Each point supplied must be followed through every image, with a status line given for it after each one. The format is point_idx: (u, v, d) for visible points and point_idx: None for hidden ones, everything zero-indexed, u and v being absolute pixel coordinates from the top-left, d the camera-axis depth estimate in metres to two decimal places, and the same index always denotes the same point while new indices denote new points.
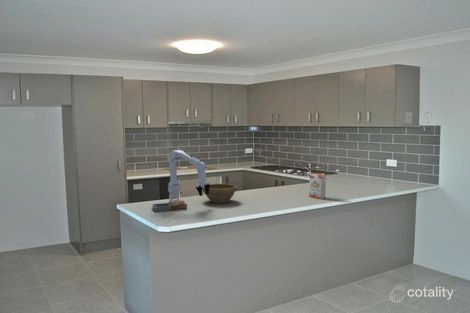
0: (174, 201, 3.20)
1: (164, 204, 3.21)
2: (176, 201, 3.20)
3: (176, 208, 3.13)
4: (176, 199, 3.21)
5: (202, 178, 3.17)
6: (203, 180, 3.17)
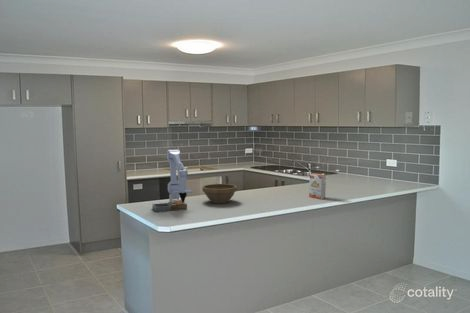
0: (174, 201, 3.20)
1: (164, 204, 3.21)
2: None
3: (176, 208, 3.13)
4: (176, 199, 3.21)
5: (180, 186, 3.14)
6: (181, 188, 3.14)
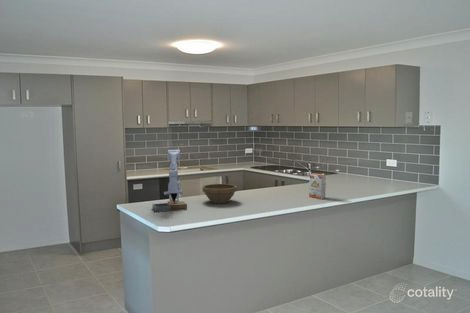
0: None
1: (164, 204, 3.21)
2: (176, 201, 3.20)
3: (176, 208, 3.13)
4: (176, 199, 3.21)
5: (171, 186, 3.12)
6: (172, 188, 3.11)
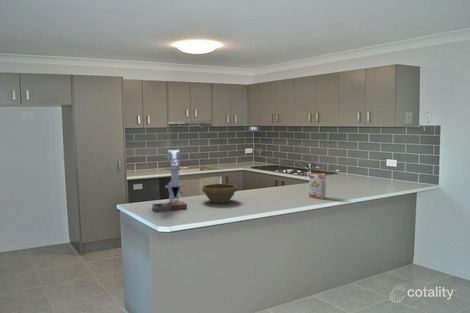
0: (174, 201, 3.20)
1: None
2: (176, 201, 3.20)
3: (176, 208, 3.13)
4: (176, 199, 3.21)
5: (172, 180, 3.14)
6: (173, 182, 3.14)
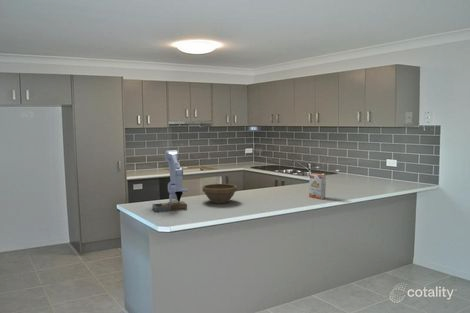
0: (174, 201, 3.20)
1: None
2: (176, 201, 3.20)
3: (176, 208, 3.13)
4: (176, 199, 3.21)
5: (176, 185, 3.19)
6: (177, 187, 3.19)
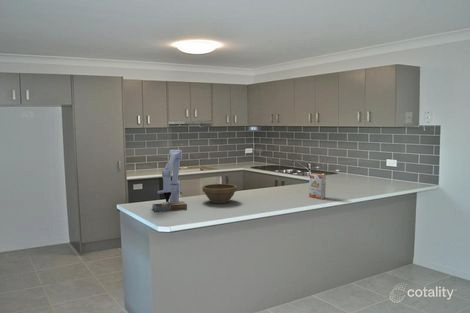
0: None
1: None
2: None
3: (176, 208, 3.13)
4: None
5: (165, 185, 3.16)
6: (165, 188, 3.16)
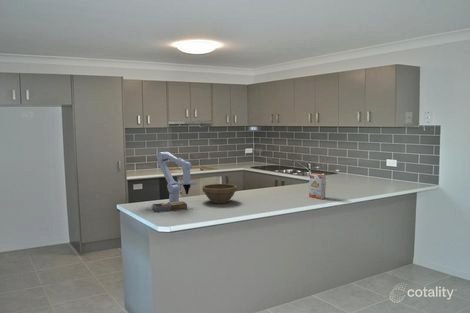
0: None
1: None
2: None
3: (176, 208, 3.13)
4: None
5: (184, 178, 3.25)
6: (185, 180, 3.25)
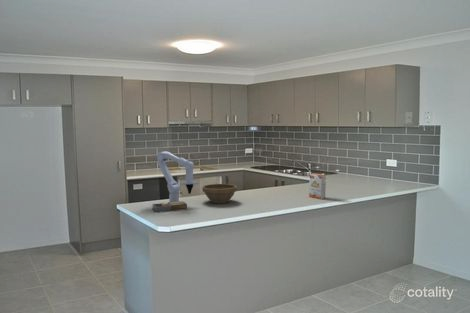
0: None
1: None
2: None
3: (176, 208, 3.13)
4: None
5: (187, 177, 3.26)
6: (188, 179, 3.26)
